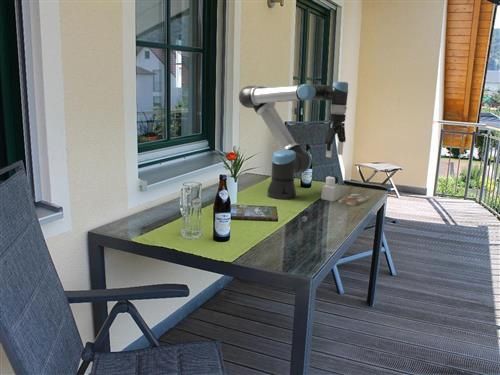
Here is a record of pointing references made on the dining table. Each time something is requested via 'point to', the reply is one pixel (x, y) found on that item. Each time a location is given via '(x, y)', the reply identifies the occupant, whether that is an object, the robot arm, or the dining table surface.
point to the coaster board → (353, 199)
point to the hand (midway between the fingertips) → (334, 155)
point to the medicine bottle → (331, 189)
